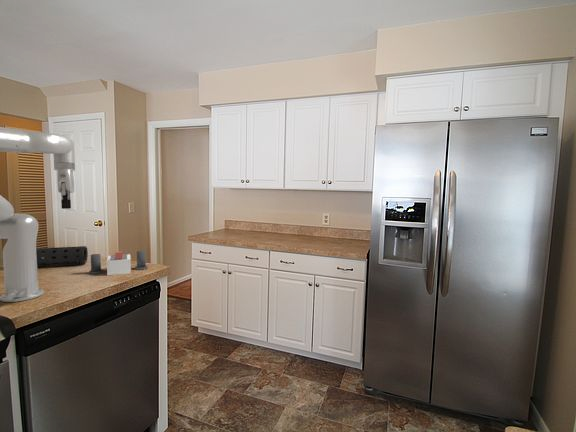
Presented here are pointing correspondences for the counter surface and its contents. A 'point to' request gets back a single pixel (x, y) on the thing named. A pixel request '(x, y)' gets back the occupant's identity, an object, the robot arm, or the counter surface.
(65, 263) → the muzzle brake
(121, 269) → the switch box
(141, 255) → the spool right
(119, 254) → the slider
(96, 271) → the gray post with base
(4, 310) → the counter surface
